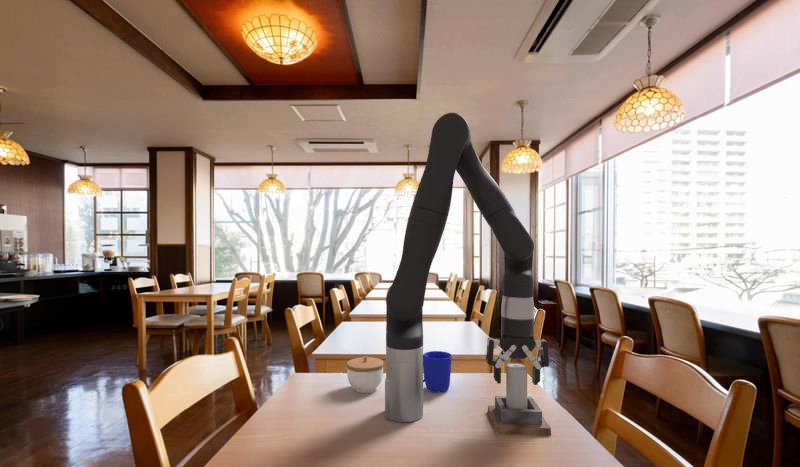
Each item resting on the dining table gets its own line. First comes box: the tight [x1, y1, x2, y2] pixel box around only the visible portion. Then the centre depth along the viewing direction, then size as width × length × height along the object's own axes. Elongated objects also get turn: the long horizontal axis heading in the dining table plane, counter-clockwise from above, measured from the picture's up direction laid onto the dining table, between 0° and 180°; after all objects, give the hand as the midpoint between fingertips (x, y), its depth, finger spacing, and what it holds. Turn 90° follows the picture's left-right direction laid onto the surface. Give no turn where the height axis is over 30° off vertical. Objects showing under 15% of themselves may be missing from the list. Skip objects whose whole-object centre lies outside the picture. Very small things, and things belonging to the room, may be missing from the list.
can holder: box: [487, 395, 552, 436], centre depth 100 cm, size 12×12×4 cm
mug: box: [423, 350, 453, 393], centre depth 122 cm, size 8×12×10 cm
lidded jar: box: [346, 355, 385, 394], centre depth 122 cm, size 11×11×9 cm
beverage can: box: [505, 362, 528, 409], centre depth 100 cm, size 5×5×12 cm
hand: (516, 383), depth 100 cm, fingers open, 8 cm apart
